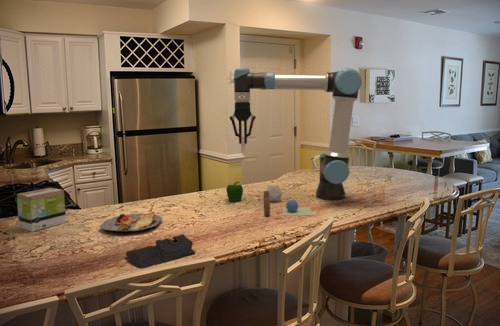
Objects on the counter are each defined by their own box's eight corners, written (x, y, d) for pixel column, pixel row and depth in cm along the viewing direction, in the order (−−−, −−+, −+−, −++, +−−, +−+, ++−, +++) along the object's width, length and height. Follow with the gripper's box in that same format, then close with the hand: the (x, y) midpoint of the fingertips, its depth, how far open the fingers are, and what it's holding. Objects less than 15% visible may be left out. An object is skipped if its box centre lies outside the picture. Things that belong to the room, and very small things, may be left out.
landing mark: (309, 207, 190) (309, 207, 190) (313, 215, 178) (313, 215, 178) (282, 207, 191) (282, 207, 191) (284, 215, 178) (284, 215, 178)
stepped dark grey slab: (120, 257, 135) (120, 243, 134) (179, 242, 149) (178, 229, 148) (139, 272, 123) (138, 257, 123) (201, 254, 137) (200, 241, 136)
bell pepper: (223, 201, 204) (222, 182, 202) (231, 198, 211) (231, 179, 210) (237, 203, 200) (237, 183, 198) (245, 199, 207) (245, 180, 206)
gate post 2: (269, 215, 180) (269, 197, 178) (270, 216, 177) (269, 198, 176) (264, 215, 180) (263, 197, 178) (264, 216, 177) (264, 199, 176)
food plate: (115, 217, 180) (115, 210, 179) (167, 217, 179) (167, 209, 178) (92, 236, 155) (91, 227, 155) (152, 236, 154) (151, 227, 154)
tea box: (32, 232, 160) (29, 196, 158) (19, 228, 165) (15, 193, 163) (67, 222, 173) (64, 189, 170) (53, 219, 178) (50, 186, 176)
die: (277, 205, 198) (286, 188, 200) (262, 196, 199) (271, 179, 201) (275, 206, 206) (285, 190, 208) (261, 198, 207) (270, 182, 209)
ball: (288, 196, 186) (284, 207, 187) (289, 199, 180) (284, 210, 181) (299, 201, 186) (295, 211, 187) (300, 204, 180) (295, 215, 181)
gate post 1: (269, 207, 192) (269, 191, 191) (269, 208, 189) (269, 192, 188) (263, 207, 192) (263, 191, 191) (263, 208, 189) (263, 192, 188)
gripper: (228, 101, 189) (229, 151, 193) (255, 101, 189) (256, 151, 192) (229, 101, 196) (230, 149, 200) (256, 101, 196) (256, 149, 200)
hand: (243, 150), depth 196 cm, fingers closed
